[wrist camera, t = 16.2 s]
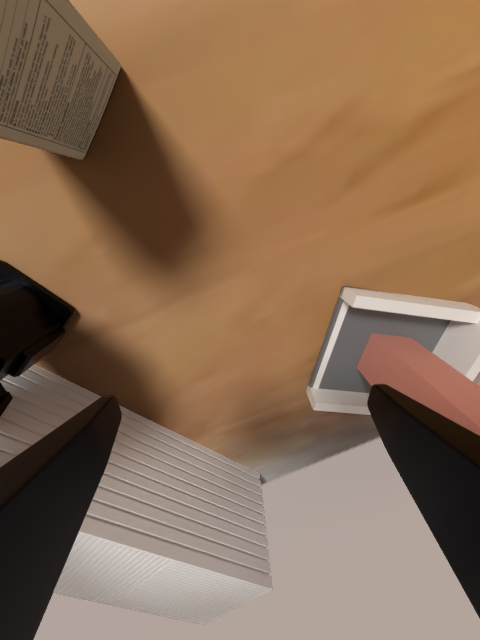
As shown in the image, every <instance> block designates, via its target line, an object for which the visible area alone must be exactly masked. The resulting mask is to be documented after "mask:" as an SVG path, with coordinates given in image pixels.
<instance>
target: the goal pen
mask: <svg viewBox="0 0 480 640" xmlns="http://www.w3.org/2000/svg"><path fill="white" fill-rule="evenodd" d="M371 333H377V334H386V335H394V336H402V337H410V338H412V339H414V340H415V341H416V342H418V343H419V344H421V345H422V346H423V347H425V348H426V349H428V350H429V351H430V352H432V353H433V354H435V355H436V356H437V357H439V358H440V359H442V360H443V361H444V362H446V363H447V364H449V365H450V366H452V367H453V368H454V369H456V370H457V371H459V372H460V373H461V374H463V375H464V376H466V377H467V378H468V379H470V380H471V381H473V380H474V379H475V377H476V376H477V374H478V373H479V372H480V308H478V307H475V306H473V305H470V304H468V303H463V302H455V301H448V300H441V299H434V298H427V297H420V296H413V295H406V294H398V293H391V292H384V291H377V290H370V289H363V288H356V287H348V286H343V287H342V290H341V292H340V295H339V298H338V301H337V304H336V307H335V310H334V313H333V316H332V318H331V321H330V324H329V327H328V330H327V333H326V336H325V339H324V342H323V344H322V347H321V350H320V353H319V356H318V359H317V362H316V365H315V368H314V371H313V373H312V376H311V379H310V382H309V385H308V388H307V391H306V393H307V396H308V398H309V401H310V403H311V406H312V408H313V410H317V411H329V412H341V413H353V414H364V415H371V414H370V412H369V409H368V406H367V401H368V397H369V393H370V390H371V387H372V386H371V385H370V384H369V383H368V381H367V380H366V379H365V377H364V376H363V375H362V374H361V372H360V371H359V370H358V369H357V365H358V363H359V361H360V358H361V356H362V354H363V352H364V349H365V347H366V345H367V343H368V340H369V338H370V336H371Z"/></svg>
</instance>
